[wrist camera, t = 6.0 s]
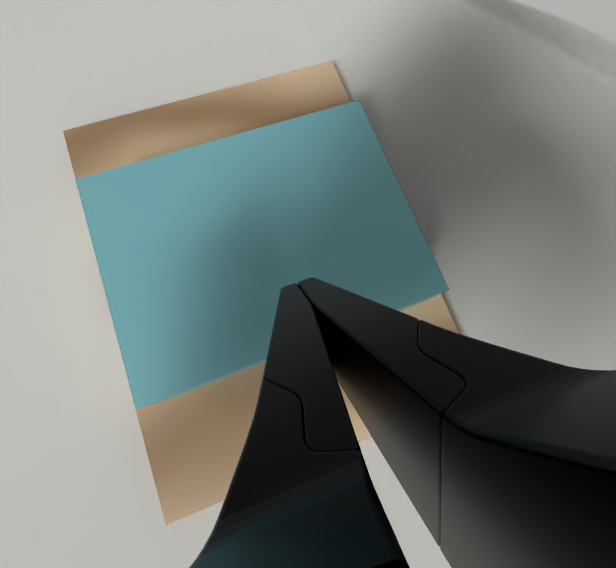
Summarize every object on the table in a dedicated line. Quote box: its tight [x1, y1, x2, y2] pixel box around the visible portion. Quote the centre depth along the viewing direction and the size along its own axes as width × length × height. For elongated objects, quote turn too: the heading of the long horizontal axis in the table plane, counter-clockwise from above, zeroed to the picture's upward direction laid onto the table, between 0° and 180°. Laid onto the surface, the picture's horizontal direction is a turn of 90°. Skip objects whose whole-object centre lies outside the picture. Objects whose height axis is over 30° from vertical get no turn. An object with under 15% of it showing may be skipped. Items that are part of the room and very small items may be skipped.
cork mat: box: [63, 62, 460, 525], centre depth 16 cm, size 18×14×1 cm
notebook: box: [76, 100, 449, 409], centre depth 15 cm, size 3×12×9 cm
